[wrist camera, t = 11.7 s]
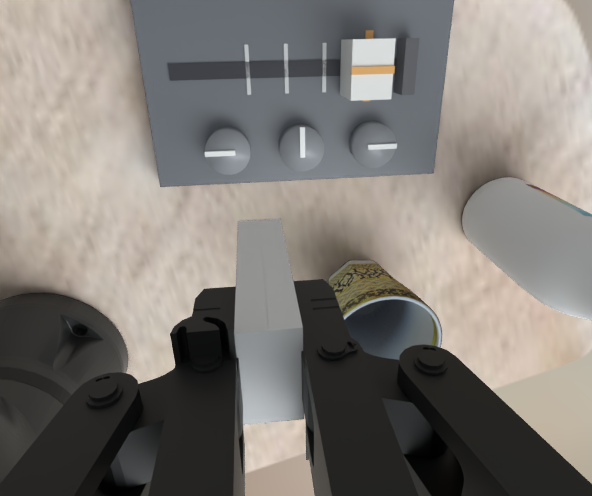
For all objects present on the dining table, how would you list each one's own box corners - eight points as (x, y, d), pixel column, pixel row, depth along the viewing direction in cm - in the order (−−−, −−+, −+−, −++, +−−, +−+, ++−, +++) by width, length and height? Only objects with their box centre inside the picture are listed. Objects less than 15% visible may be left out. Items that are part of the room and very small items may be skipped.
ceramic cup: (312, 244, 43) (331, 297, 34) (410, 243, 44) (452, 294, 35) (307, 349, 49) (321, 419, 40) (393, 346, 50) (426, 413, 41)
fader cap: (339, 94, 35) (350, 101, 31) (340, 39, 33) (352, 39, 30) (376, 93, 35) (392, 99, 32) (380, 38, 34) (397, 38, 30)
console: (164, 180, 39) (155, 194, 35) (131, -32, 32) (117, -42, 28) (425, 167, 41) (442, 179, 37) (447, -34, 34) (471, -43, 30)
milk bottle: (461, 255, 45) (603, 394, 27) (457, 186, 42) (616, 293, 24) (532, 237, 45) (722, 365, 27) (534, 166, 42) (751, 259, 24)
